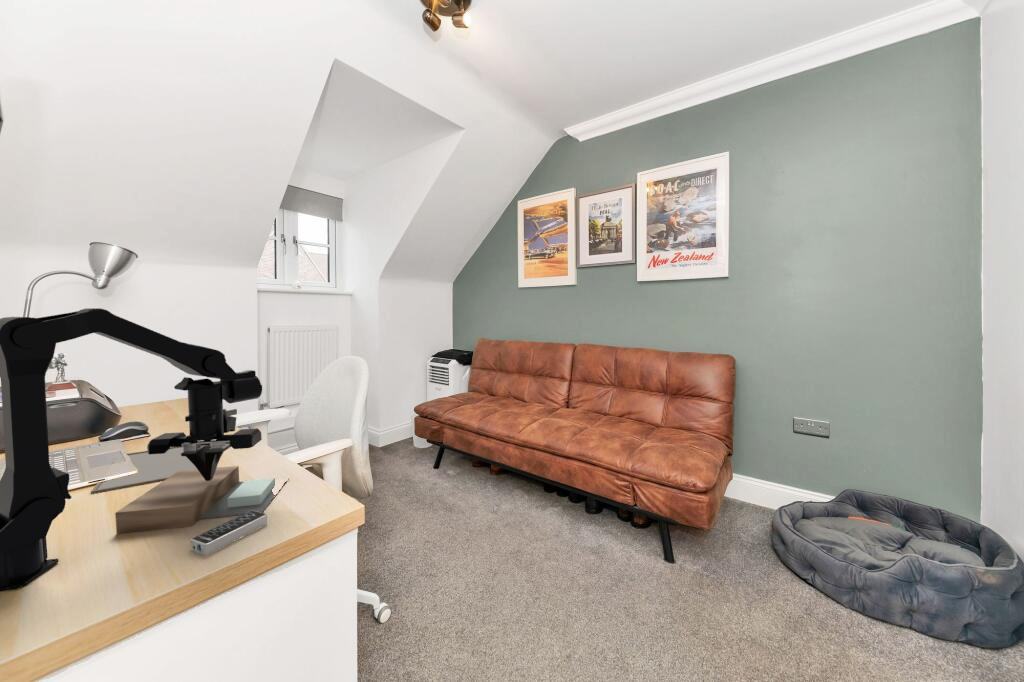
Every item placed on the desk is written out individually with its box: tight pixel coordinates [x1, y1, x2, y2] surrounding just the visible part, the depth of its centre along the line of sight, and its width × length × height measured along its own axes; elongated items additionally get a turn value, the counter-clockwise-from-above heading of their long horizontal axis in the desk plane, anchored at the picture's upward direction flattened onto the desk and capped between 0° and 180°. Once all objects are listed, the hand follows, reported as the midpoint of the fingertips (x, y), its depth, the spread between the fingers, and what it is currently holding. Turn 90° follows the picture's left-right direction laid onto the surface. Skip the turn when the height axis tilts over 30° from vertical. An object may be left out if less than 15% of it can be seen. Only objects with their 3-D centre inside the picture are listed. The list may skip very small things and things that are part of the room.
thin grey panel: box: [90, 446, 197, 495], centre depth 105 cm, size 19×1×28 cm
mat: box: [199, 480, 276, 520], centre depth 87 cm, size 17×11×1 cm, turn 13°
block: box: [228, 477, 276, 508], centre depth 86 cm, size 9×6×2 cm, turn 15°
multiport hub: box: [190, 510, 268, 556], centre depth 71 cm, size 4×11×2 cm, turn 158°
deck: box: [114, 465, 240, 535], centre depth 83 cm, size 20×12×4 cm, turn 13°
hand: (209, 480), depth 84 cm, fingers closed
